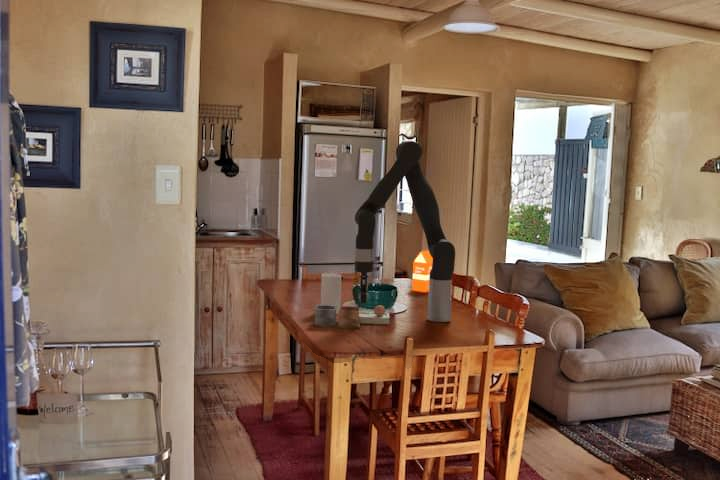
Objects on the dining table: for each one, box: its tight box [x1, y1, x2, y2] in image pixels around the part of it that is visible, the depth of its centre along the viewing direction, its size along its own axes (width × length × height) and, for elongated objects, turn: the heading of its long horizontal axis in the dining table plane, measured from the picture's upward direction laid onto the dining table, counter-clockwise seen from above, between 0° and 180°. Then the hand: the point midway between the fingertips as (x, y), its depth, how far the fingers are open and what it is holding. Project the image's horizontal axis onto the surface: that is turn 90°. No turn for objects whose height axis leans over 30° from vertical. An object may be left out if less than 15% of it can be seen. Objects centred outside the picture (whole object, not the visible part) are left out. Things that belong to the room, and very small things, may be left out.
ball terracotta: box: [373, 304, 386, 317], centre depth 278 cm, size 4×4×4 cm
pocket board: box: [359, 311, 390, 325], centre depth 278 cm, size 15×10×2 cm, turn 89°
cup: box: [320, 272, 342, 315], centre depth 290 cm, size 8×8×16 cm
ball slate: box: [357, 292, 370, 303], centre depth 277 cm, size 4×4×4 cm
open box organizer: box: [312, 304, 361, 330], centre depth 269 cm, size 18×9×7 cm, turn 89°
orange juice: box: [411, 249, 433, 293], centre depth 348 cm, size 8×9×20 cm
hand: (363, 301), depth 278 cm, fingers closed on ball slate, 4 cm apart
